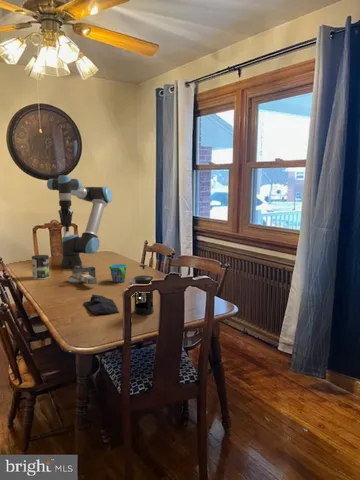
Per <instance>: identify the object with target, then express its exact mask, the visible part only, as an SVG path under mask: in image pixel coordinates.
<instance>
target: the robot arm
mask: <svg viewBox="0 0 360 480" xmlns="http://www.w3.org/2000/svg"><path fill="white" fill-rule="evenodd" d="M46 187H47V189H48V190H50V191H58V204H59V205H58V206H60V210H58V214H59V219H60V225H61V226H63V237H62V239H61V244H62V245H61V246H62V249H61V250H62V257H61V262H60V268H62V269H75V268H74V266H80V268H81V267H82V266H83V262H82V260H81V257H80V254H87V255H93V254H95V253H97V252H98V250H99V249H100V239H99V236H98V231H99V228H100V224H101V221H102V217H103V213H104V209H105V208H106V207H107V206H108V203H112V200H113V193H112V190H111V188H110V187H107V186H84V185H83V186H82V181H81V180H80V179H78V178H71V175H59V176H58V177H57V178H49V179H48V180H47V182H46ZM72 196H74V197H76V198H77V199H79V200H82V201H86V202H89V203H92V207H91V209H90V214H89V217H88V221H87V223H86V228H85V231H84V232H82V233H81V236H80V235H79V234H70V226H72V220H73V214H74V211H73V210H71V206H72Z"/></svg>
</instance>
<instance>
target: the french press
mask: <svg viewBox="0 0 360 480" xmlns="http://www.w3.org/2000/svg"><path fill="white" fill-rule="evenodd" d="M139 267H140V268H142V272H143V273H142V275H137V276H135V277H133V278H134V279H135V283H136V284H149V283H150V281H151V280H153V279H154V277H153V276H152V275H145V268H146V267H149V265H148V264H140V265H139ZM137 293H138V295H136V293H135V295H134V309H133V313H134V314H135V315H139V316H148V315H149V316H150V315H153V313H154V291H153V292H150V293H146V295H144V293H143V295H142V293H139V292H137ZM137 296H138V297H137Z"/></svg>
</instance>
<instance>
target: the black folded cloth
mask: <svg viewBox="0 0 360 480" xmlns="http://www.w3.org/2000/svg"><path fill="white" fill-rule="evenodd" d="M83 305H84V306H85V307H86V308H87V309H88V310H89V312H90V313H92V314H94V315H109V314H110V315H113V314H119V313H120V311H119V309H118V307H117V305H116V303H115V302H114V300H113V299H111V298H107V297H105V296H103V295H99V294H91V297H90V300H89V301H85V302H83Z"/></svg>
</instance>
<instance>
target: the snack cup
mask: <svg viewBox="0 0 360 480" xmlns="http://www.w3.org/2000/svg"><path fill="white" fill-rule="evenodd" d="M108 268H109V269H110V276H111V281H112V282H113V283H115V284H117V283H123V282H125V280H126V273H127V268H128V266H127V265H126V264H124V263H116V264H115V263H114V264H111V265H109V267H108ZM116 282H117V283H116Z"/></svg>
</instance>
